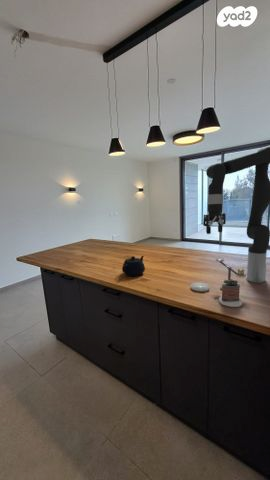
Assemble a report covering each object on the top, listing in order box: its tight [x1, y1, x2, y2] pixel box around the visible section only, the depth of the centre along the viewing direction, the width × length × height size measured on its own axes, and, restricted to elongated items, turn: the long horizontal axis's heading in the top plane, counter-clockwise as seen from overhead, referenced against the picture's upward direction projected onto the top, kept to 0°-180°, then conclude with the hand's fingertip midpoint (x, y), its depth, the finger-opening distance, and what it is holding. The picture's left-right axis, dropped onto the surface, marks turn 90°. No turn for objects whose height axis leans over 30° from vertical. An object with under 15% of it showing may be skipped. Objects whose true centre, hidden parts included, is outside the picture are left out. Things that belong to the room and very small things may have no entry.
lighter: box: [221, 279, 241, 302], centre depth 98 cm, size 8×3×10 cm, turn 89°
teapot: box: [121, 255, 146, 277], centre depth 146 cm, size 25×16×12 cm, turn 145°
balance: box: [215, 258, 247, 291], centre depth 112 cm, size 5×18×16 cm, turn 27°
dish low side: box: [218, 295, 243, 308], centre depth 99 cm, size 10×10×2 cm
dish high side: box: [190, 282, 210, 292], centre depth 117 cm, size 10×10×2 cm
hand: (214, 233), depth 116 cm, fingers open, 8 cm apart
